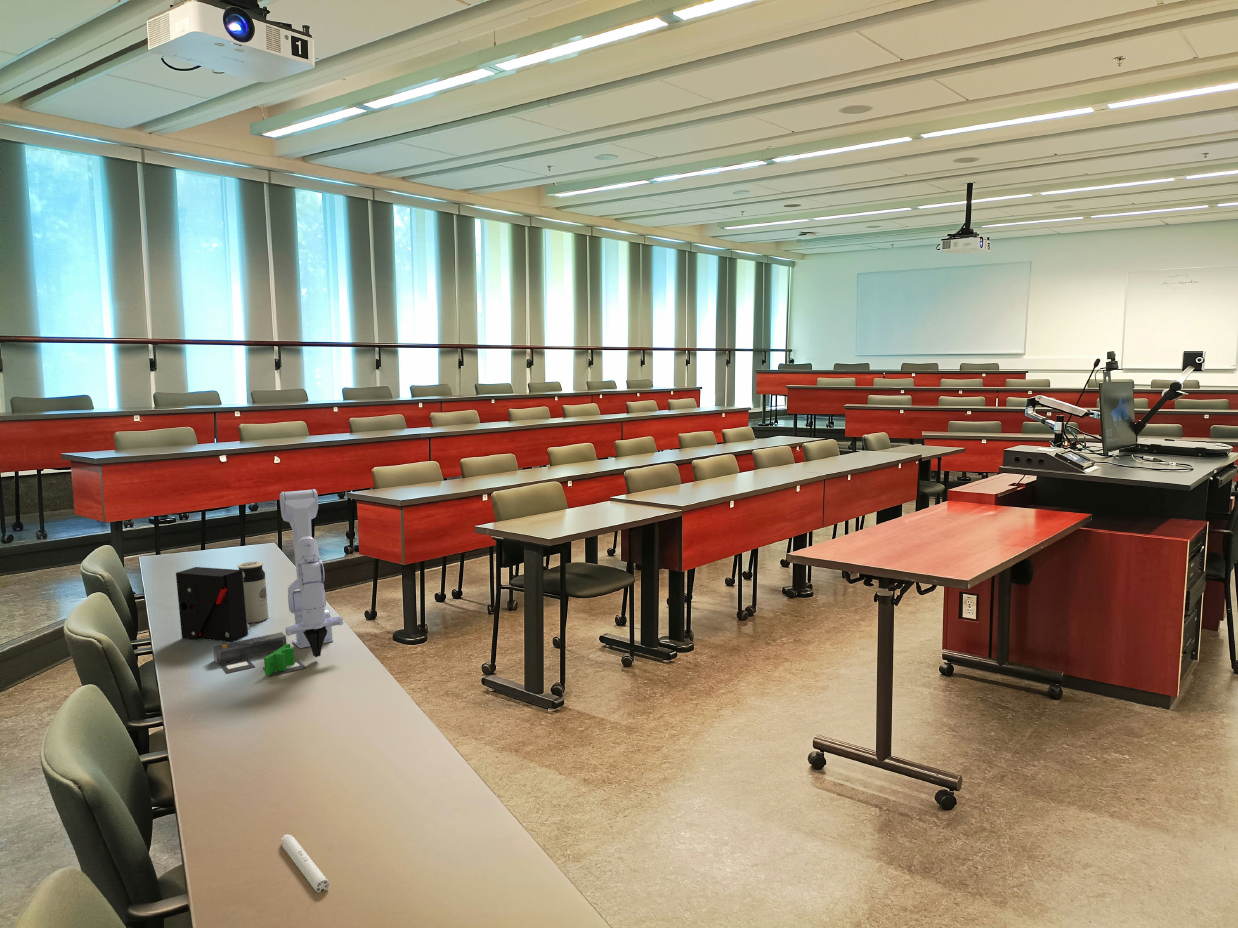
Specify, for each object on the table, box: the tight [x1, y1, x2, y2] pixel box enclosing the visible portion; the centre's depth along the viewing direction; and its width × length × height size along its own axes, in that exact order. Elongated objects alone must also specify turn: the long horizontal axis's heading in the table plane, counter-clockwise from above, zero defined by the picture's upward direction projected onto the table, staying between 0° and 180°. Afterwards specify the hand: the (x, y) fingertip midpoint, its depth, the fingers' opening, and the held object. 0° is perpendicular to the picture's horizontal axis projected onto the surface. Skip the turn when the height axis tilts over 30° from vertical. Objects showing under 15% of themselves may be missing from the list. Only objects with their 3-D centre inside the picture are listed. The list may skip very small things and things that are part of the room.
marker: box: [280, 834, 330, 894], centre depth 131 cm, size 18×2×2 cm, turn 39°
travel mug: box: [236, 561, 269, 624], centre depth 263 cm, size 8×8×18 cm
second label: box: [262, 659, 307, 677], centre depth 219 cm, size 9×8×1 cm
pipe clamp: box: [263, 643, 296, 676], centre depth 219 cm, size 11×4×5 cm, turn 173°
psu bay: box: [212, 631, 288, 665], centre depth 230 cm, size 18×5×4 cm, turn 126°
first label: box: [219, 658, 256, 674], centre depth 222 cm, size 7×8×1 cm
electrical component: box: [175, 566, 251, 643], centre depth 247 cm, size 18×10×20 cm, turn 71°
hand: (316, 655), depth 224 cm, fingers closed
